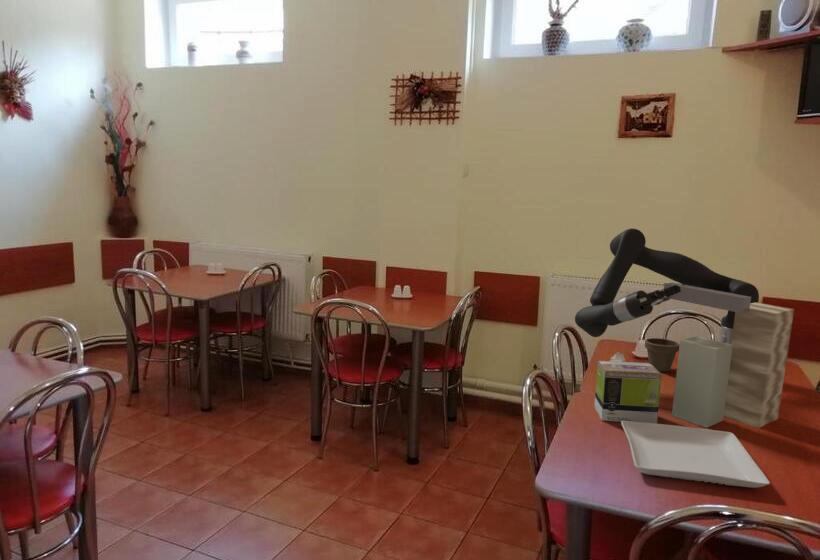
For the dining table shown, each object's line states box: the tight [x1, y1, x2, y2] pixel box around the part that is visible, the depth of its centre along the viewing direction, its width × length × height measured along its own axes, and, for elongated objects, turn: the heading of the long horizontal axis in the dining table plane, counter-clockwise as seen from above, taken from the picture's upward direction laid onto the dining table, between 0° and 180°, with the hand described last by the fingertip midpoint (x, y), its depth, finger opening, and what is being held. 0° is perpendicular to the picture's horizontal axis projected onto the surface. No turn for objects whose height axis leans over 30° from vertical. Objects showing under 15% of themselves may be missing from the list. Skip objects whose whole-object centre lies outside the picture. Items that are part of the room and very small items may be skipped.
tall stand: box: [723, 302, 795, 429], centre depth 165 cm, size 12×10×32 cm
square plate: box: [620, 421, 771, 488], centre depth 139 cm, size 27×27×4 cm
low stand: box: [671, 336, 733, 429], centre depth 164 cm, size 9×10×22 cm
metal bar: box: [663, 282, 751, 313], centre depth 162 cm, size 4×22×4 cm, turn 37°
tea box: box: [594, 360, 662, 424], centre depth 164 cm, size 15×10×15 cm, turn 84°
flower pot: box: [644, 337, 680, 373], centre depth 209 cm, size 12×11×10 cm
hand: (682, 287), depth 166 cm, fingers closed on metal bar, 4 cm apart
